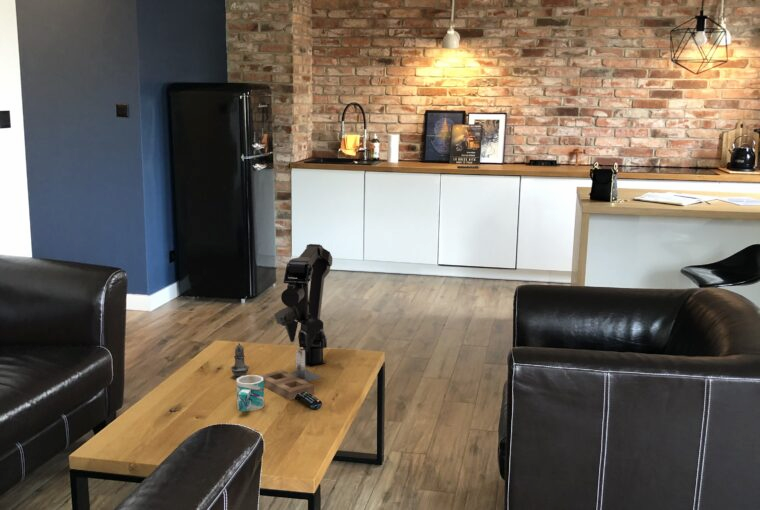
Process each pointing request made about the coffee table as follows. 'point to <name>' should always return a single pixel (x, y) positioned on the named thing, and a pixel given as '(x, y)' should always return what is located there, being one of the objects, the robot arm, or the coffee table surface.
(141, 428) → the coffee table surface
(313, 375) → the mat
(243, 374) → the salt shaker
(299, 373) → the pin
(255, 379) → the mug
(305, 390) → the socket block
